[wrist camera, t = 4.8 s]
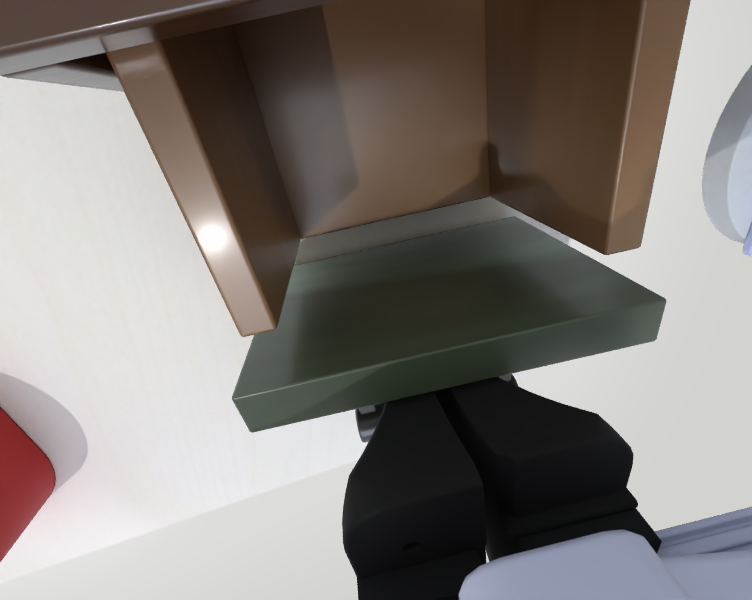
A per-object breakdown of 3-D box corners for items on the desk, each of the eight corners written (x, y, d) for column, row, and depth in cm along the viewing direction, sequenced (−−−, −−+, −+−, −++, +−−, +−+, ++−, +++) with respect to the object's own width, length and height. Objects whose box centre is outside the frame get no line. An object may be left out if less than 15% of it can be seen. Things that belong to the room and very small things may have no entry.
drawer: (514, 331, 17) (624, 463, 10) (316, 376, 17) (307, 536, 10) (519, -227, 8) (1087, -1271, 2) (126, -141, 8) (-524, -948, 2)
